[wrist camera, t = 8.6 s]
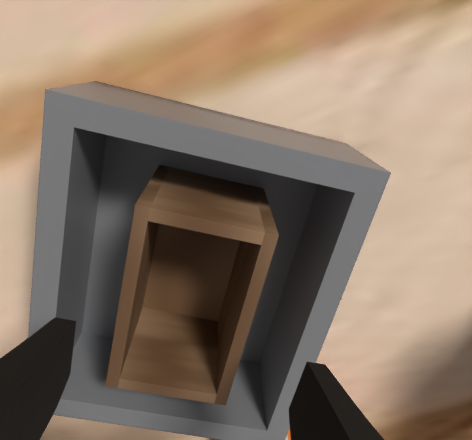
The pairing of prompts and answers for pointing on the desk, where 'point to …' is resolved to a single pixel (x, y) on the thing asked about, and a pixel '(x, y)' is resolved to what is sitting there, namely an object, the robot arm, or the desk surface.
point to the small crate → (190, 285)
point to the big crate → (119, 229)
